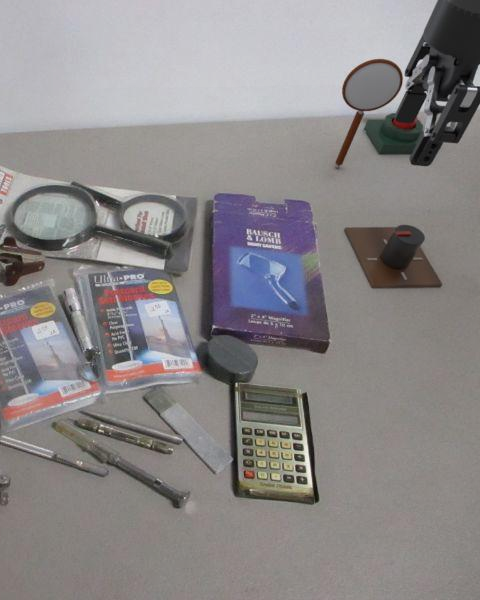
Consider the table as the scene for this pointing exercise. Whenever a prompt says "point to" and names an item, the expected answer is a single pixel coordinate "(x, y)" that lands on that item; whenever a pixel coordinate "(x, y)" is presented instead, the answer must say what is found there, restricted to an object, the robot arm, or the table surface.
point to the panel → (379, 274)
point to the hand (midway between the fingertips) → (410, 141)
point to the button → (405, 124)
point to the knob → (402, 246)
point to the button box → (392, 136)
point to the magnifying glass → (368, 93)
